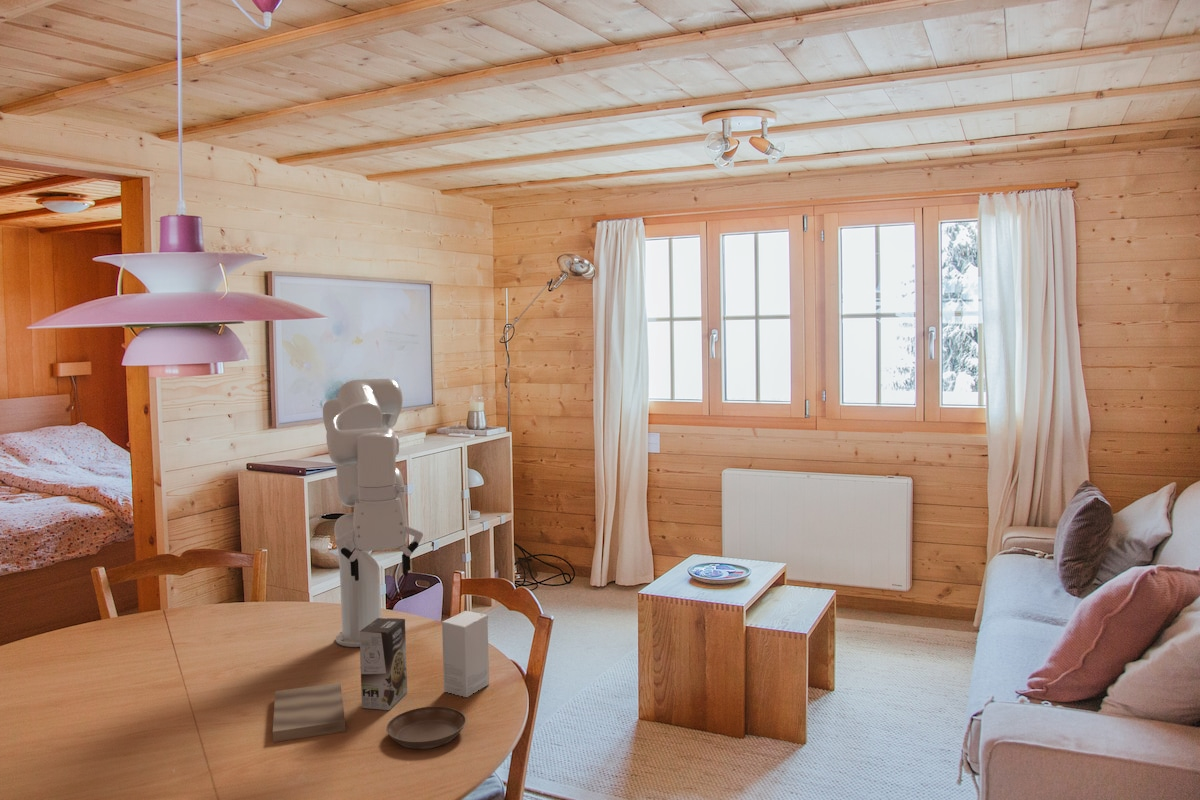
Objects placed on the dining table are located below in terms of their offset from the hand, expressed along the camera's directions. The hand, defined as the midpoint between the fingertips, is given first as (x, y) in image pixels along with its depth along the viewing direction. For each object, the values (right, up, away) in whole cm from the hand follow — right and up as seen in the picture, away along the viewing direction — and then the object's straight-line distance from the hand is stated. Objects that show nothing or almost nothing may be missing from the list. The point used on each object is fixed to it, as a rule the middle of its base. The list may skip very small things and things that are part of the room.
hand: (381, 576), depth 184 cm
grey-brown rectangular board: (-13, -27, -4) cm, 30 cm away
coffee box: (0, -26, +2) cm, 26 cm away
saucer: (+12, -28, -14) cm, 33 cm away
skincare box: (+16, -26, +8) cm, 31 cm away
